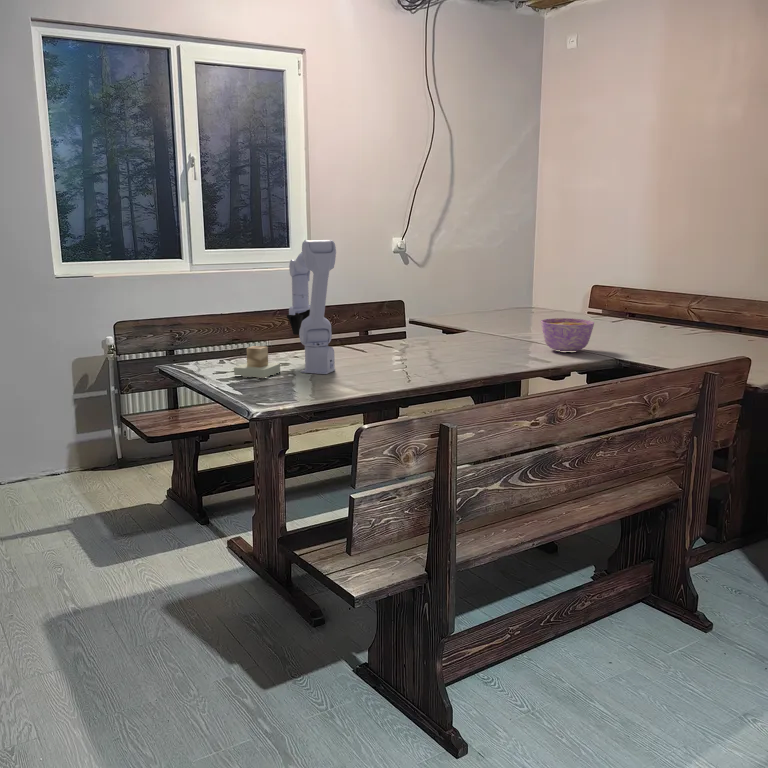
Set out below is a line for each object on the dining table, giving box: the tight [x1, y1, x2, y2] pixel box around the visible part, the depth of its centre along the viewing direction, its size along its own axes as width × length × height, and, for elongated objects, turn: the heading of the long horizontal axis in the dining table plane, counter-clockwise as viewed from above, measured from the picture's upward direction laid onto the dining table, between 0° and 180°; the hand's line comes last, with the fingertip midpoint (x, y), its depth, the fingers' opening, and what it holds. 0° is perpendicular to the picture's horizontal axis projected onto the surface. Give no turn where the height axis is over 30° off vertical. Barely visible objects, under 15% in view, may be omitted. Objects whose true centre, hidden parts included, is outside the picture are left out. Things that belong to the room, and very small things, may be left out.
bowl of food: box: [540, 317, 595, 352], centre depth 295 cm, size 20×20×12 cm
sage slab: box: [233, 362, 281, 378], centre depth 252 cm, size 11×11×3 cm
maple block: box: [246, 345, 269, 367], centre depth 251 cm, size 5×5×6 cm
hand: (301, 333), depth 272 cm, fingers open, 7 cm apart
